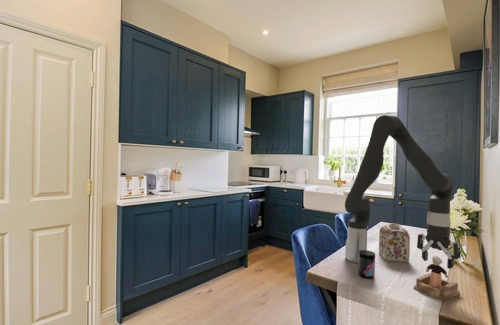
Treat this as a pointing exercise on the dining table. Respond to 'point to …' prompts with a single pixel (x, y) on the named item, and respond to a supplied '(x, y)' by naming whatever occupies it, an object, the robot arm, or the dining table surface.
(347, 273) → the dining table surface
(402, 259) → the decorative jar
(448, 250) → the robot arm
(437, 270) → the grandmother figurine
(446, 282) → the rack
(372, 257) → the supplement container
